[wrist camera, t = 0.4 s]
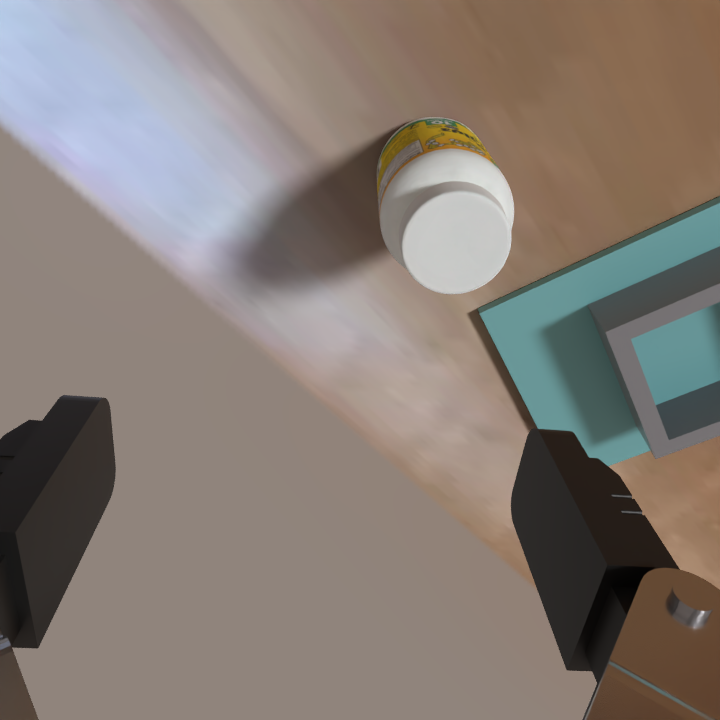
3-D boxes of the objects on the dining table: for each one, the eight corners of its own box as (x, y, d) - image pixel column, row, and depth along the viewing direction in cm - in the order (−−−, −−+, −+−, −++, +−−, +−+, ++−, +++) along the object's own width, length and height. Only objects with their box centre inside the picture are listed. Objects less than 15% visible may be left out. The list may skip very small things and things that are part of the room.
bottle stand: (872, 125, 29) (931, 143, 26) (898, 350, 36) (948, 385, 33) (477, 308, 35) (488, 341, 32) (562, 475, 41) (578, 516, 38)
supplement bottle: (354, 175, 31) (349, 249, 23) (432, 88, 29) (458, 135, 21) (431, 244, 33) (452, 336, 25) (509, 167, 31) (561, 240, 22)
